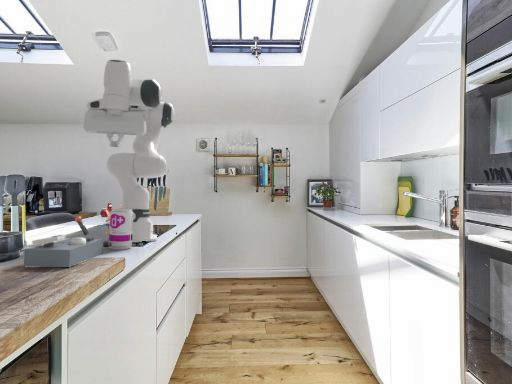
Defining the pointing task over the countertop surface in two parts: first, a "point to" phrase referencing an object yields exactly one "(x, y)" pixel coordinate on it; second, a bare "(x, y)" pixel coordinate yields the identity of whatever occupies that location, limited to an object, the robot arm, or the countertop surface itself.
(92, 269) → the countertop surface
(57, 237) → the rocker
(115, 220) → the supplement can
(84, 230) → the lever
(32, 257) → the console
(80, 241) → the button
